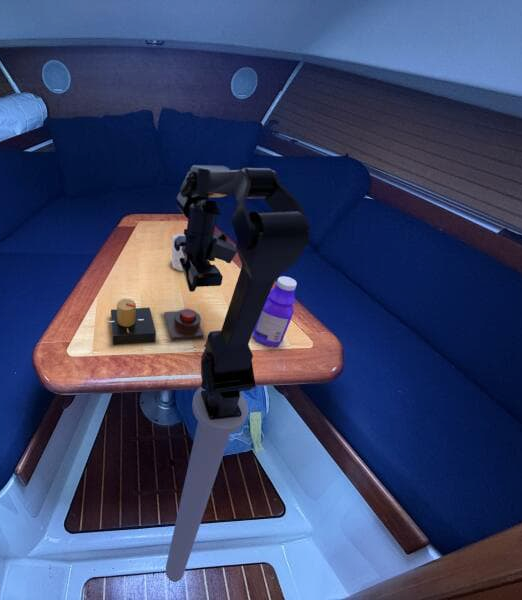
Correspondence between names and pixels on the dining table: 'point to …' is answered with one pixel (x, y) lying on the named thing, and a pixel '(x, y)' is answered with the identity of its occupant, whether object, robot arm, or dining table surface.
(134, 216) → the dining table surface
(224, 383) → the robot arm
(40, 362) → the dining table surface
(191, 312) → the red button
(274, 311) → the bottle
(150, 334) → the black dial base
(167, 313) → the button block
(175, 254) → the white cup
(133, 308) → the lock knob
